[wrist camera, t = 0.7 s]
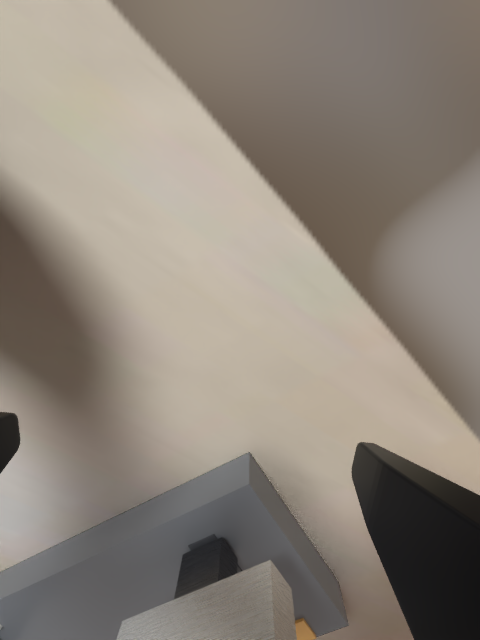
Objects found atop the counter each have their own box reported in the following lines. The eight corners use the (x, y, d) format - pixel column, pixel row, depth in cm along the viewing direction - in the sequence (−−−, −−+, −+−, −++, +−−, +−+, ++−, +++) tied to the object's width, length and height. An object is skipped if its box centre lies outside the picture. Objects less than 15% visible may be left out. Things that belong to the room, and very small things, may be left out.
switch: (138, 571, 23) (89, 725, 16) (267, 514, 22) (275, 658, 15) (158, 594, 24) (119, 752, 17) (286, 540, 22) (302, 691, 15)
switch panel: (-57, 599, 30) (-92, 643, 27) (249, 452, 24) (249, 486, 21) (49, 694, 33) (28, 743, 30) (338, 582, 28) (349, 628, 25)
